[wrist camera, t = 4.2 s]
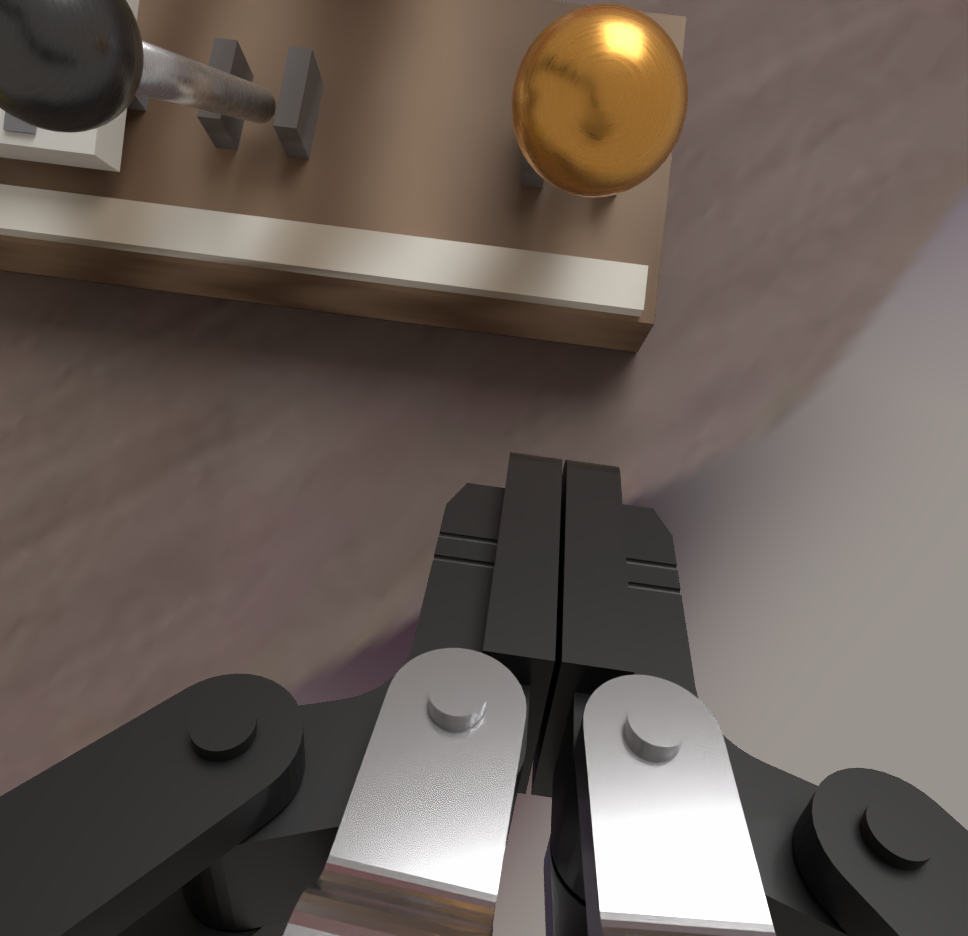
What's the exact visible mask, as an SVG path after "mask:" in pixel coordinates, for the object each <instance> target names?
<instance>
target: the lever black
mask: <svg viewBox="0 0 968 936" xmlns="http://www.w3.org/2000/svg"><path fill="white" fill-rule="evenodd" d="M136 94H139V95H143V96H148V97H152V98H156V99H160V100H164V101H168V102H172V103H176V104H180V105H184V106H188V107H192V108H196V109H201V110H205V111H209V112H213V113H217V114H221V115H225V116H229V117H233V118H237V119H241V120H245V121H249V122H254V123H258V124H263V123H266V122H268V121H269V120H271V118H272V117H273V116H274V113H275V110H276V103H275V99H274V97H273V95H272V93H271V92H270V91H269V90H268V89H267V88H265V87H263V86H260V85H258V84H255V83H252V82H250V81H247V80H245V79H242V78H239V77H237V76H234V75H231V74H229V73H226V72H224V71H221V70H218V69H216V68H213V67H210V66H208V65H205V64H203V63H200V62H197V61H195V60H192V59H189V58H187V57H184V56H182V55H179V54H176V53H174V52H171V51H168V50H166V49H163V48H161V47H158V46H155V45H153V44H150V43H147V42H145V41H142V38H141V34H140V30H139V27H138V24H137V21H136V18H135V16H134V14H133V12H132V10H131V8H130V6H129V4H128V3H127V1H126V0H0V108H1V109H2V110H4V111H5V112H7V113H8V114H10V115H11V116H13V117H15V118H17V119H19V120H21V121H23V122H25V123H27V124H29V125H32V126H35V127H38V128H41V129H45V130H50V131H55V132H67V133H75V132H84V131H88V130H92V129H96V128H99V127H101V126H103V125H106V124H108V123H109V122H111V121H112V120H114V119H115V118H117V117H118V116H119V115H120V114H121V113H122V112H123V111H125V109H126V108H127V107H128V106H129V104H130V103H131V102H132V100H133V98H134V96H135V95H136Z"/></svg>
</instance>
